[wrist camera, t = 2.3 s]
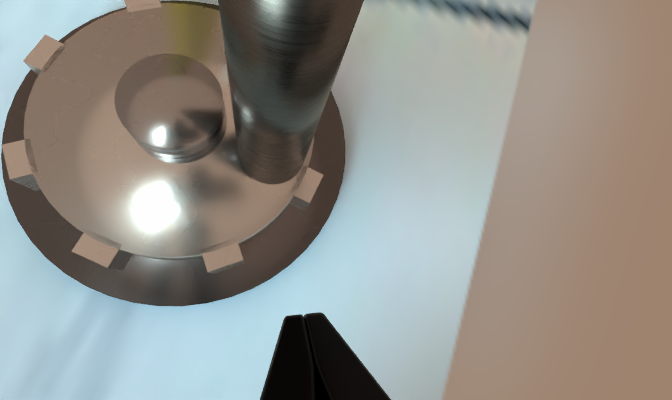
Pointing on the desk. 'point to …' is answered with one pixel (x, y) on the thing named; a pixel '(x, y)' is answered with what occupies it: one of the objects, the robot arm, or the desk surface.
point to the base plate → (170, 275)
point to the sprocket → (181, 124)
